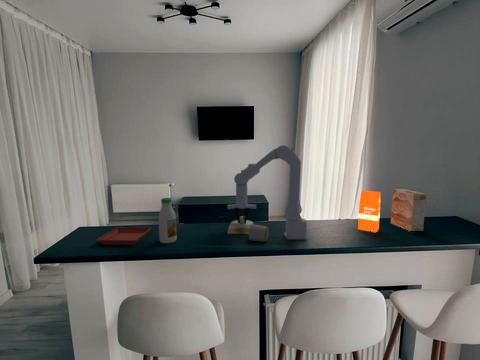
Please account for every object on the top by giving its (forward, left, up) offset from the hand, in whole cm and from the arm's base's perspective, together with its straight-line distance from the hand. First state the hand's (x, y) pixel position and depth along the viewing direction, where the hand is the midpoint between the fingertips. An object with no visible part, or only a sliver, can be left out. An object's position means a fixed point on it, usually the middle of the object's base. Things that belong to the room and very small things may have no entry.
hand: (242, 222), depth 130 cm
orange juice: (-66, -4, -5) cm, 66 cm away
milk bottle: (+34, +14, -5) cm, 37 cm away
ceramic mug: (-8, +12, -5) cm, 15 cm away
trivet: (0, 0, -5) cm, 5 cm away
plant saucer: (+55, +12, -5) cm, 57 cm away
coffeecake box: (-87, -7, -5) cm, 87 cm away
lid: (0, 0, -1) cm, 1 cm away
